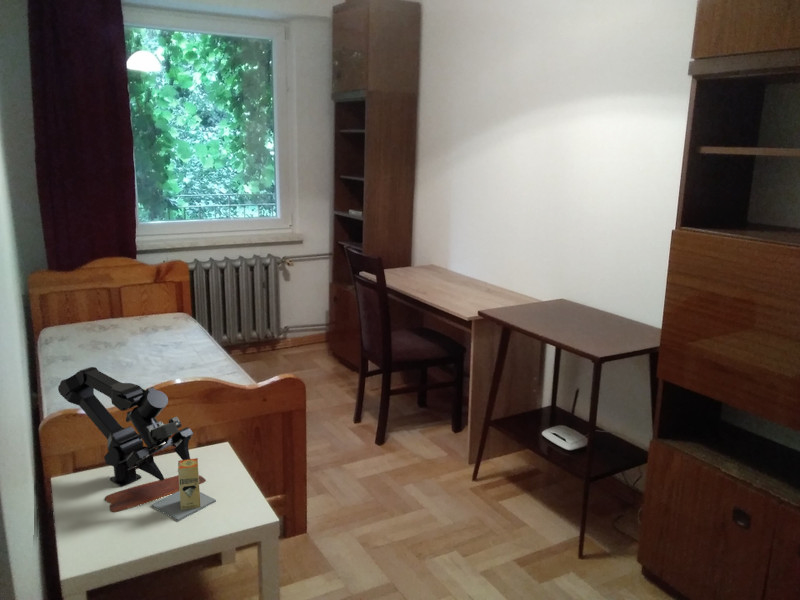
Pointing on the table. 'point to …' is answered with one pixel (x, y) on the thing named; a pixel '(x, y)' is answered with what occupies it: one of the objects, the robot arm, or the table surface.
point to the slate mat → (173, 505)
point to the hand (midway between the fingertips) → (176, 472)
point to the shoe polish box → (189, 483)
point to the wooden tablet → (144, 493)
